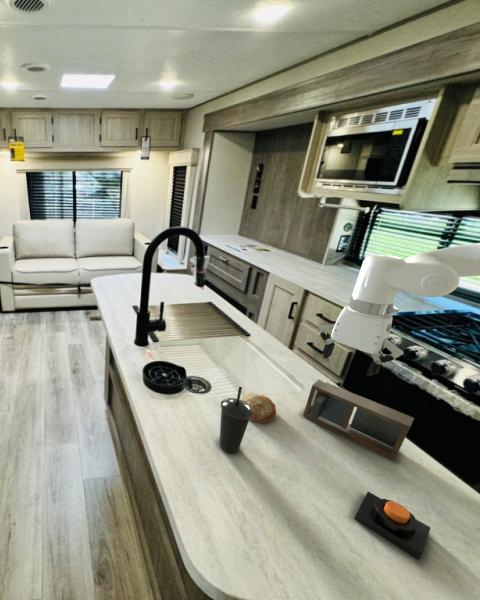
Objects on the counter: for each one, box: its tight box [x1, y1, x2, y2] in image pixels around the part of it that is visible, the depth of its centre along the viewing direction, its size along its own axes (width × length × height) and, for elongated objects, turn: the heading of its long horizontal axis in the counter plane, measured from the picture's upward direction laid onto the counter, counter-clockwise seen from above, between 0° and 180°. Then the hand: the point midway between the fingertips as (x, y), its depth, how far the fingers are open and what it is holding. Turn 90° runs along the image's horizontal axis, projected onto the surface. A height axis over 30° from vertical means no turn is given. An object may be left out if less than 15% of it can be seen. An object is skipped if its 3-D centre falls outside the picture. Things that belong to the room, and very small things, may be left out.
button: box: [384, 500, 411, 524], centre depth 65 cm, size 4×4×2 cm
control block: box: [353, 491, 432, 561], centre depth 65 cm, size 10×8×4 cm
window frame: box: [302, 378, 415, 462], centre depth 88 cm, size 21×5×12 cm, turn 36°
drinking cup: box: [219, 386, 253, 455], centre depth 83 cm, size 8×8×20 cm
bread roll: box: [240, 392, 277, 424], centre depth 98 cm, size 10×10×8 cm
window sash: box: [310, 391, 355, 429], centre depth 90 cm, size 9×7×8 cm
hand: (347, 365), depth 83 cm, fingers open, 9 cm apart
